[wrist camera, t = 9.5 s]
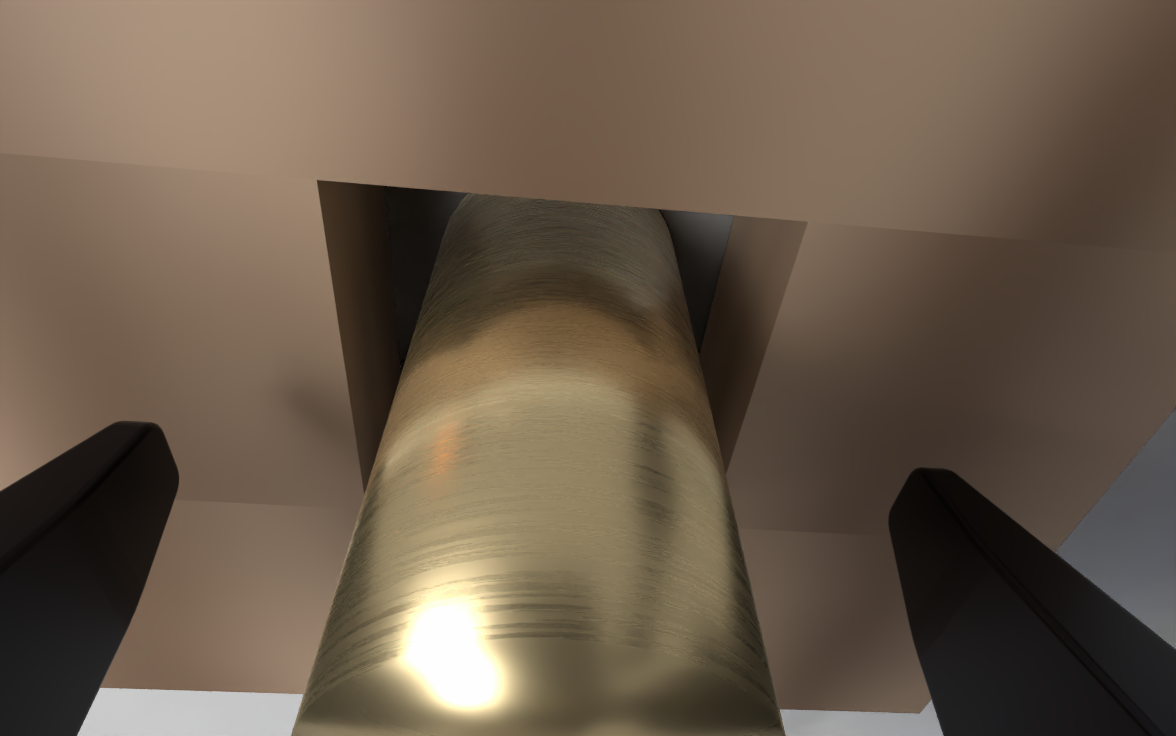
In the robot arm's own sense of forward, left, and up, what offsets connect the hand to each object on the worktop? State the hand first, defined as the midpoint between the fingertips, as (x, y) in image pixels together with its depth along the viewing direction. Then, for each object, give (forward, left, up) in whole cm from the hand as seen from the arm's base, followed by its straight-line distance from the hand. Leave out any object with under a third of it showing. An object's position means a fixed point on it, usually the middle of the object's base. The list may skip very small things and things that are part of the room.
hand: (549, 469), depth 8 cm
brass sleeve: (0, 0, -5) cm, 5 cm away
